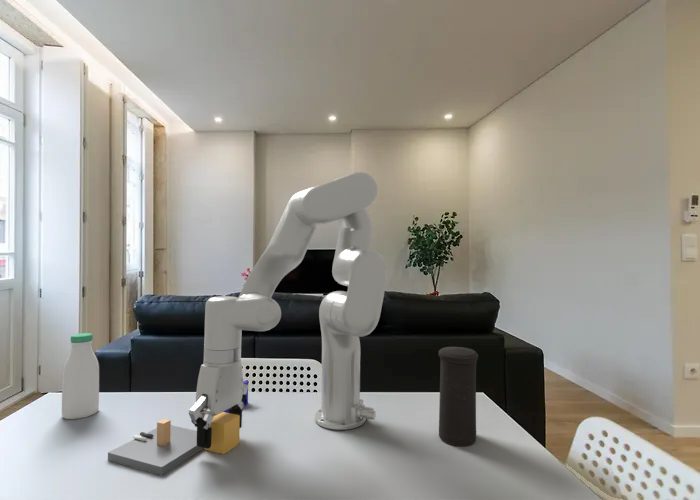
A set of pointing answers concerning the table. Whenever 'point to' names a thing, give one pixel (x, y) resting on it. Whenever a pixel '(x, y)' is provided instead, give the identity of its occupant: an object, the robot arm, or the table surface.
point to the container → (457, 396)
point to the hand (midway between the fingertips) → (220, 436)
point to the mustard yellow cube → (224, 432)
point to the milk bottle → (80, 379)
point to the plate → (157, 448)
